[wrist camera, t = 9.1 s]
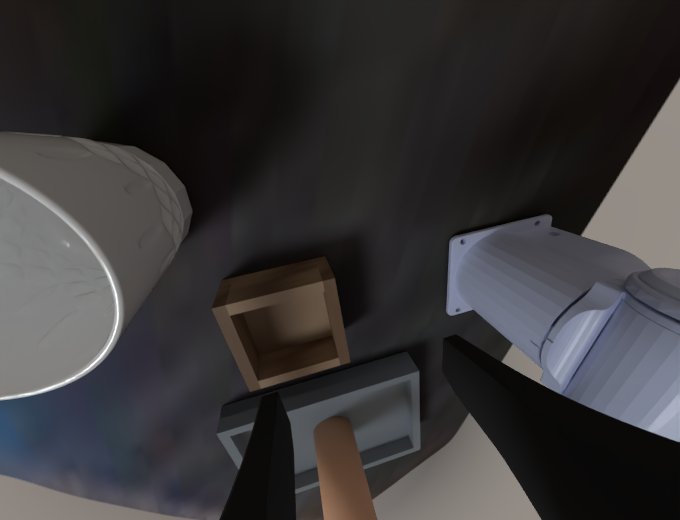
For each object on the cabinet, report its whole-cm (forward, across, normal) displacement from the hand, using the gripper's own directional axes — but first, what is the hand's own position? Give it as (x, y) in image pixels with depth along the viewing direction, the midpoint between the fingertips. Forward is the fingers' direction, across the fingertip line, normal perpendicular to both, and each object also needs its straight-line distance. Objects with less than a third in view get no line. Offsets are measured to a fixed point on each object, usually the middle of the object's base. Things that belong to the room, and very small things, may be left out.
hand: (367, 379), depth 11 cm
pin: (+9, +2, +18) cm, 20 cm away
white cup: (+11, +10, -7) cm, 17 cm away
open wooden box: (+10, +3, +3) cm, 11 cm away
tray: (+10, +2, +18) cm, 21 cm away
